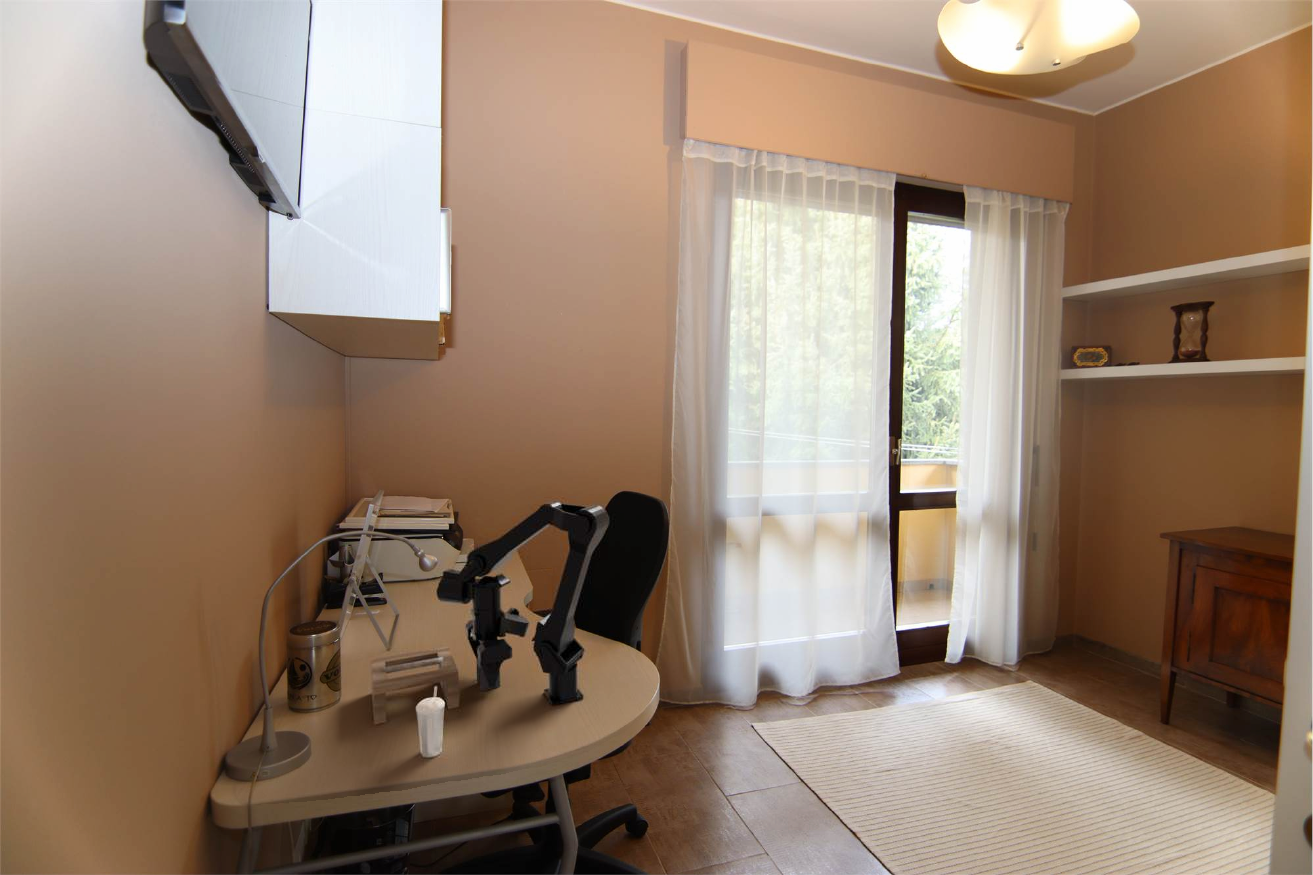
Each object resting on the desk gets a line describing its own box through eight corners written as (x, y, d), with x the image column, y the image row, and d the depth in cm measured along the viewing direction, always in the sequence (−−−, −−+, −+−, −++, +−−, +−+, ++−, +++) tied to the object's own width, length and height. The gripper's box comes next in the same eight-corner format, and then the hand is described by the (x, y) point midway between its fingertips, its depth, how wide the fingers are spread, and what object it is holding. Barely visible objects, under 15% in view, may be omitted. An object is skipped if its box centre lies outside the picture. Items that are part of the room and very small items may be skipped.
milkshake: (450, 742, 106) (449, 685, 106) (440, 759, 101) (439, 700, 101) (424, 742, 106) (422, 686, 106) (413, 760, 101) (411, 701, 101)
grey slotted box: (500, 686, 128) (499, 664, 127) (480, 690, 126) (480, 667, 126) (496, 679, 131) (495, 657, 131) (476, 682, 129) (476, 660, 129)
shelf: (459, 706, 119) (458, 668, 119) (374, 724, 112) (373, 684, 112) (448, 678, 132) (448, 643, 131) (371, 693, 125) (370, 656, 125)
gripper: (537, 613, 123) (538, 689, 124) (514, 588, 140) (515, 655, 140) (480, 622, 118) (481, 701, 119) (464, 595, 135) (465, 665, 135)
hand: (488, 678), depth 128 cm, fingers open, 8 cm apart
